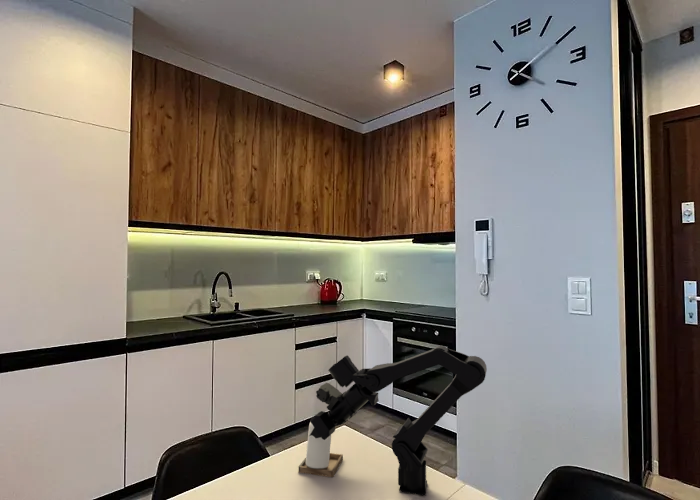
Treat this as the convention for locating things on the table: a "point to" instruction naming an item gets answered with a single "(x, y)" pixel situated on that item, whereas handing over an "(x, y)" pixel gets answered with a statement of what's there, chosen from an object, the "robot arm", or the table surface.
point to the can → (317, 451)
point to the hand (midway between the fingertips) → (316, 433)
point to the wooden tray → (329, 471)
